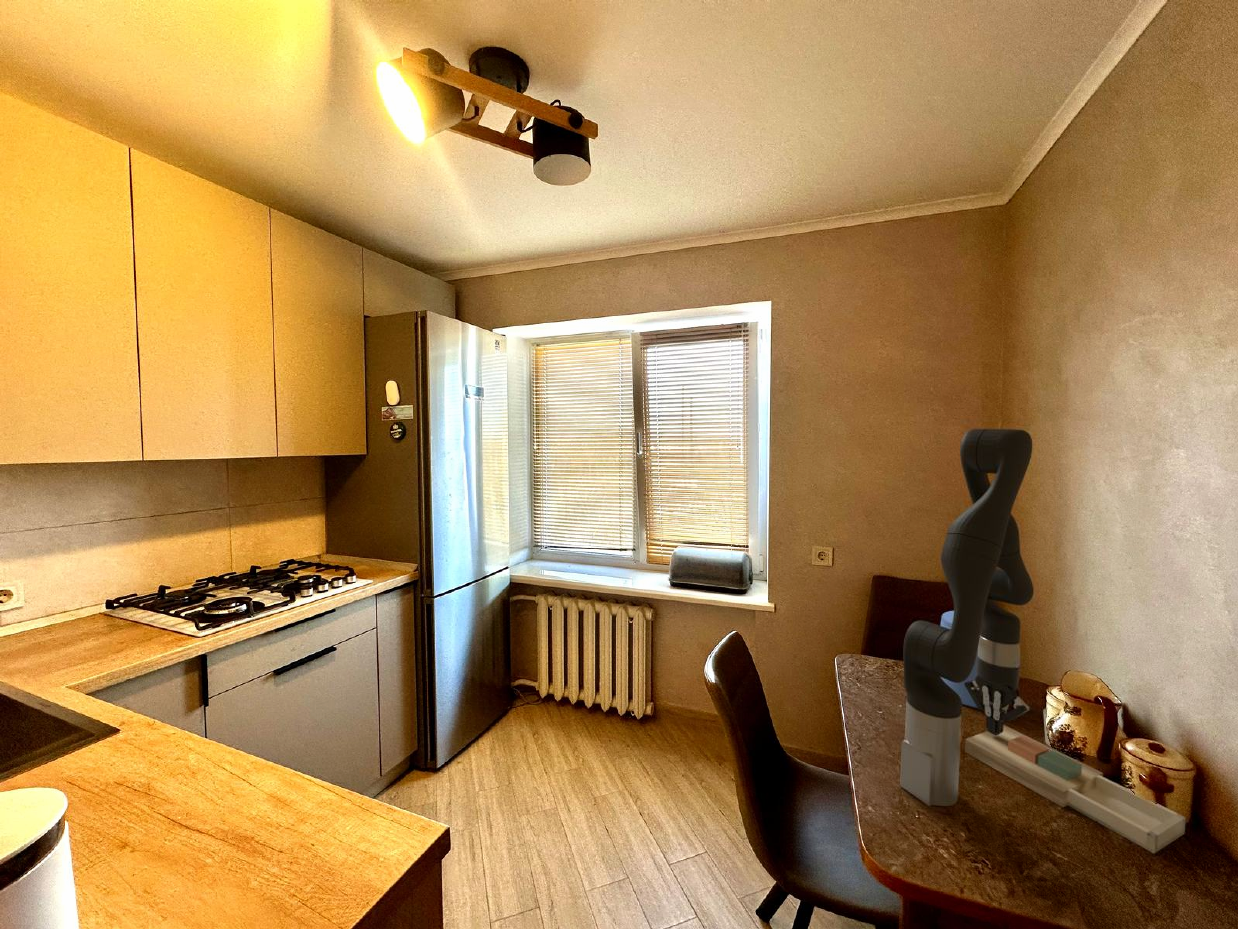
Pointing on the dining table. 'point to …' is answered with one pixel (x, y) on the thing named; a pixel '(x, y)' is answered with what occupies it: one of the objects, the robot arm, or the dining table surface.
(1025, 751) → the terracotta tile
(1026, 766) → the birch board
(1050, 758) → the teal tile
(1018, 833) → the dining table surface
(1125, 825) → the box
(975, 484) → the robot arm
